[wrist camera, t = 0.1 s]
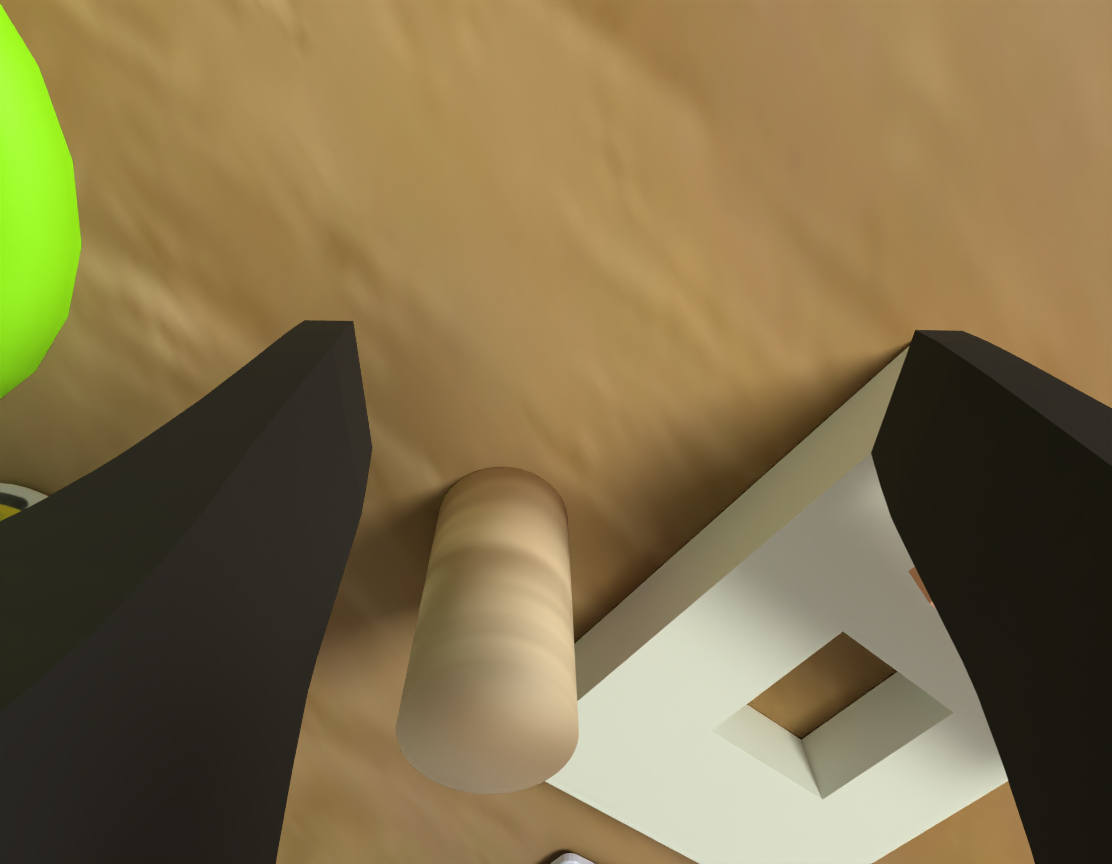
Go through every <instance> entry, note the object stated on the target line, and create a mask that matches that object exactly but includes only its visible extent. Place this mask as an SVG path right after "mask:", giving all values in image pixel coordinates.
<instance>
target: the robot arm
mask: <svg viewBox="0 0 1112 864" xmlns="http://www.w3.org/2000/svg"><path fill="white" fill-rule="evenodd" d="M371 452H372V443H371V436H370V430H369V423H368V417H367V410H366V403H365V397H364V390H363V383H362V377H361V370H360V363H359V357H358V350H357V343H356V337H355V330H354V324H353V321H310V320H305V321H303V322H302V323H300V324H298V325H297V326H295V327H294V328H293V329H291V330H290V331H289V332H287V333H286V334H285V335H283V336H282V337H281V338H279V339H278V340H277V341H276V342H274V343H273V344H272V345H270V346H269V347H268V348H267V349H265V350H264V351H263V352H262V353H260V354H259V355H258V356H257V357H255V358H254V359H253V360H251V361H250V362H249V363H248V364H246V365H245V366H244V367H242V368H241V369H240V370H239V371H237V372H236V373H235V374H233V375H232V376H231V377H229V378H228V379H227V380H226V381H224V382H223V383H222V384H220V385H219V386H218V387H216V388H215V389H214V390H213V391H211V392H210V393H209V394H207V395H206V396H205V397H203V398H202V399H201V400H199V401H198V402H197V403H195V404H194V405H192V406H191V407H189V408H188V409H186V410H185V411H184V412H182V413H181V414H179V415H178V416H176V417H175V418H173V419H172V420H171V421H169V422H168V423H166V424H165V425H163V426H162V427H160V428H159V429H158V430H156V431H155V432H153V433H152V434H150V435H149V436H147V437H146V438H145V439H143V440H142V441H140V442H139V443H137V444H136V445H134V446H133V447H131V448H130V449H128V450H127V451H125V452H123V453H122V454H120V455H119V456H117V457H116V458H114V459H112V460H111V461H109V462H107V463H106V464H104V465H102V466H101V467H99V468H98V469H96V470H94V471H93V472H91V473H89V474H87V475H86V476H84V477H82V478H80V479H79V480H77V481H75V482H73V483H71V484H70V485H68V486H66V487H64V488H63V489H61V490H59V491H57V492H56V493H54V494H52V495H50V496H49V497H47V498H45V499H43V500H41V501H39V502H37V503H35V504H34V505H32V506H30V507H28V508H26V509H24V510H22V511H20V512H18V513H16V514H14V515H12V516H10V517H8V518H5V519H3V520H1V521H0V864H276V858H277V852H278V846H279V841H280V835H281V830H282V824H283V819H284V813H285V808H286V802H287V796H288V791H289V785H290V780H291V774H292V769H293V764H294V759H295V753H296V748H297V743H298V738H299V733H300V728H301V723H302V718H303V713H304V708H305V703H306V698H307V693H308V689H309V685H310V682H311V678H312V674H313V670H314V666H315V663H316V659H317V656H318V652H319V649H320V646H321V643H322V640H323V636H324V633H325V630H326V627H327V624H328V620H329V617H330V614H331V611H332V608H333V604H334V601H335V598H336V595H337V592H338V588H339V585H340V582H341V579H342V576H343V573H344V569H345V566H346V563H347V560H348V556H349V553H350V550H351V547H352V543H353V540H354V537H355V533H356V530H357V527H358V523H359V520H360V517H361V513H362V508H363V502H364V496H365V491H366V485H367V479H368V472H369V466H370V459H371ZM871 455H872V459H873V462H874V466H875V469H876V472H877V476H878V479H879V483H880V486H881V489H882V492H883V495H884V498H885V501H886V504H887V507H888V510H889V513H890V516H891V518H892V521H893V523H894V525H895V527H896V529H897V531H898V533H899V535H900V537H901V540H902V542H903V544H904V546H905V548H906V550H907V552H908V554H909V556H910V558H911V560H912V562H913V564H914V566H915V568H916V570H917V572H918V574H919V576H920V578H921V580H922V582H923V584H924V586H925V588H926V590H927V592H928V594H929V596H930V598H931V600H932V602H933V604H934V606H935V608H936V610H937V612H938V614H939V616H940V618H941V620H942V622H943V624H944V626H945V628H946V630H947V632H948V634H949V636H950V638H951V640H952V642H953V644H954V646H955V648H956V650H957V652H958V654H959V656H960V658H961V660H962V662H963V664H964V666H965V669H966V671H967V673H968V675H969V678H970V680H971V682H972V684H973V687H974V689H975V691H976V693H977V696H978V699H979V701H980V704H981V707H982V709H983V712H984V715H985V718H986V720H987V723H988V726H989V728H990V731H991V734H992V737H993V739H994V742H995V745H996V747H997V750H998V753H999V756H1000V758H1001V761H1002V764H1003V766H1004V769H1005V772H1006V775H1007V778H1008V781H1009V784H1010V787H1011V790H1012V794H1013V797H1014V800H1015V803H1016V806H1017V809H1018V812H1019V815H1020V818H1021V821H1022V824H1023V827H1024V830H1025V833H1026V836H1027V839H1028V842H1029V845H1030V848H1031V851H1032V855H1033V858H1034V862H1035V864H1112V408H1110V407H1108V406H1106V405H1105V404H1103V403H1101V402H1099V401H1097V400H1095V399H1094V398H1092V397H1090V396H1088V395H1086V394H1084V393H1083V392H1081V391H1079V390H1077V389H1075V388H1074V387H1072V386H1070V385H1068V384H1066V383H1065V382H1063V381H1061V380H1059V379H1057V378H1055V377H1054V376H1052V375H1050V374H1048V373H1046V372H1045V371H1043V370H1041V369H1039V368H1037V367H1035V366H1034V365H1032V364H1030V363H1028V362H1026V361H1024V360H1023V359H1021V358H1019V357H1017V356H1015V355H1013V354H1011V353H1009V352H1007V351H1005V350H1003V349H1002V348H1000V347H998V346H995V345H993V344H991V343H989V342H987V341H985V340H983V339H981V338H978V337H976V336H974V335H971V334H969V333H966V332H964V331H938V330H915V332H914V335H913V338H912V341H911V343H910V346H909V349H908V352H907V355H906V357H905V360H904V363H903V366H902V368H901V371H900V374H899V377H898V379H897V382H896V385H895V388H894V390H893V393H892V396H891V399H890V402H889V404H888V407H887V410H886V413H885V415H884V418H883V421H882V424H881V426H880V429H879V432H878V435H877V438H876V440H875V443H874V446H873V449H872V451H871ZM551 864H595V863H593V862H591V861H589V860H587V859H585V858H583V857H581V856H579V855H577V854H574V853H566V854H563V855H561V856H560V857H559V858H557V859H556V860H555V861H553V862H552V863H551Z"/></svg>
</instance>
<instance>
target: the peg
mask: <svg viewBox="0 0 1112 864" xmlns="http://www.w3.org/2000/svg"><path fill="white" fill-rule="evenodd" d="M396 735H397V741H398V744H399V747H400V749H401V751H402V753H403V755H404V756H405V758H406V759H407V760H408V762H409V763H410V764H411V765H412V766H413V767H414V768H415V769H416V770H417V771H419V772H420V773H421V774H423V775H424V776H425V777H427V778H429V779H431V780H432V781H434V782H436V783H439V784H441V785H443V786H446V787H449V788H452V789H455V790H459V791H463V792H469V793H476V794H502V793H510V792H515V791H520V790H523V789H527V788H530V787H533V786H535V785H537V784H540V783H542V782H544V781H546V780H547V779H549V778H551V777H552V776H554V775H555V774H556V773H558V772H559V771H560V770H561V769H562V768H563V767H564V766H565V765H566V764H567V763H568V761H569V760H570V759H571V757H572V755H573V754H574V752H575V749H576V746H577V743H578V737H579V726H578V707H577V688H576V669H575V650H574V631H573V613H572V594H571V575H570V556H569V537H568V518H567V512H566V508H565V505H564V503H563V501H562V499H561V497H560V495H559V494H558V493H557V491H556V490H555V489H554V488H553V487H552V486H551V485H550V484H549V483H547V482H546V481H545V480H544V479H542V478H540V477H539V476H537V475H535V474H532V473H530V472H527V471H524V470H521V469H516V468H509V467H494V468H487V469H483V470H479V471H476V472H474V473H471V474H469V475H467V476H465V477H464V478H462V479H461V480H459V481H458V482H457V483H455V484H454V485H453V486H452V487H451V488H450V490H449V491H448V492H447V493H446V495H445V497H444V499H443V501H442V503H441V506H440V510H439V515H438V520H437V525H436V530H435V535H434V540H433V545H432V550H431V555H430V560H429V565H428V570H427V575H426V580H425V585H424V590H423V595H422V600H421V605H420V610H419V615H418V620H417V624H416V629H415V634H414V639H413V644H412V649H411V654H410V659H409V664H408V669H407V674H406V679H405V684H404V689H403V694H402V699H401V704H400V709H399V714H398V719H397V724H396Z"/></svg>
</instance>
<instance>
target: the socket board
mask: <svg viewBox="0 0 1112 864" xmlns="http://www.w3.org/2000/svg"><path fill="white" fill-rule="evenodd" d="M908 349H909V346H908V347H907V348H906V349H905V350H904V351H903V352H902V353H901V354H899V355H898V356H897V357H896V358H895V359H894V360H893V361H892V362H890V363H889V364H888V365H887V366H886V367H885V368H884V369H883V370H881V371H880V372H879V373H878V374H877V375H876V376H875V377H874V378H872V379H871V380H870V381H869V382H868V383H867V384H866V385H865V386H864V387H862V388H861V389H860V390H859V391H858V392H857V393H856V394H855V395H853V396H852V397H851V398H850V399H849V400H848V401H847V402H846V403H844V404H843V405H842V406H841V407H840V408H839V409H838V410H837V411H835V412H834V413H833V414H832V415H831V416H830V417H829V418H828V419H826V420H825V421H824V422H823V423H822V424H821V425H820V426H819V427H817V428H816V429H815V430H814V431H813V432H812V433H811V434H810V435H808V436H807V437H806V438H805V439H804V440H803V441H802V442H801V443H799V444H798V445H797V446H796V447H795V448H794V449H793V450H792V451H790V452H789V453H788V454H787V455H786V456H785V457H784V458H783V459H782V460H780V461H779V462H778V463H777V464H776V465H775V466H774V467H773V468H771V469H770V470H769V471H768V472H767V473H766V474H765V475H764V476H762V477H761V478H760V479H759V480H758V481H757V482H756V483H755V484H753V485H752V486H751V487H750V488H749V489H748V490H747V491H746V492H744V493H743V494H742V495H741V496H740V497H739V498H738V499H737V500H735V501H734V502H733V503H732V504H731V505H730V506H729V507H728V508H726V509H725V510H724V511H723V512H722V513H721V514H720V515H719V516H717V517H716V518H715V519H714V520H713V521H712V522H711V523H710V524H708V525H707V526H706V527H705V528H704V529H703V530H702V531H701V532H699V533H698V534H697V535H696V536H695V537H694V538H693V539H692V540H691V541H689V542H688V543H687V544H686V545H685V546H684V547H683V548H682V549H680V550H679V551H678V552H677V553H676V554H675V555H674V556H673V557H671V558H670V559H669V560H668V561H667V562H666V563H665V564H664V565H662V566H661V567H660V568H659V569H658V570H657V571H656V572H655V573H653V574H652V575H651V576H650V577H649V578H648V579H647V580H646V581H644V582H643V583H642V584H641V585H640V586H639V587H638V588H637V589H635V590H634V591H633V592H632V593H631V594H630V595H629V596H628V597H626V598H625V599H624V600H623V601H622V602H621V603H620V604H619V605H617V606H616V607H615V608H614V609H613V610H612V611H611V612H610V613H609V614H607V615H606V616H605V617H604V618H603V619H602V620H601V621H600V622H598V623H597V624H596V625H595V626H594V627H593V628H592V629H591V630H589V631H588V632H587V633H586V634H585V635H584V636H583V637H582V638H580V639H579V640H578V641H577V642H576V643H575V644H574V650H575V669H576V688H577V707H578V726H579V737H578V743H577V746H576V749H575V752H574V754H573V755H572V757H571V759H570V760H569V761H568V763H567V764H566V765H565V766H564V767H563V768H562V769H561V770H560V771H559V772H558V773H556V774H555V775H554V776H552V777H551V778H549V779H547V780H546V782H547V783H549V784H551V785H553V786H555V787H557V788H559V789H561V790H562V791H564V792H566V793H568V794H570V795H572V796H574V797H576V798H577V799H579V800H581V801H583V802H585V803H587V804H589V805H591V806H592V807H594V808H596V809H598V810H600V811H602V812H604V813H606V814H607V815H609V816H611V817H613V818H615V819H617V820H619V821H620V822H622V823H624V824H626V825H628V826H630V827H632V828H634V829H635V830H637V831H639V832H641V833H643V834H645V835H647V836H649V837H650V838H652V839H654V840H656V841H658V842H660V843H662V844H664V845H665V846H667V847H669V848H671V849H673V850H675V851H677V852H679V853H680V854H682V855H684V856H686V857H688V858H690V859H692V860H694V861H695V862H697V863H699V864H872V863H873V862H875V861H877V860H878V859H880V858H881V857H883V856H885V855H886V854H888V853H890V852H891V851H893V850H895V849H896V848H898V847H900V846H901V845H903V844H905V843H906V842H908V841H910V840H911V839H913V838H914V837H916V836H918V835H919V834H921V833H923V832H924V831H926V830H928V829H929V828H931V827H933V826H934V825H936V824H938V823H939V822H941V821H943V820H944V819H946V818H948V817H949V816H951V815H952V814H954V813H956V812H957V811H959V810H961V809H962V808H964V807H966V806H967V805H969V804H971V803H972V802H974V801H976V800H977V799H979V798H981V797H982V796H984V795H986V794H987V793H989V792H990V791H992V790H994V789H995V788H997V787H999V786H1000V785H1002V784H1004V783H1005V782H1007V781H1008V778H1007V775H1006V772H1005V769H1004V766H1003V764H1002V761H1001V758H1000V756H999V753H998V750H997V747H996V745H995V742H994V739H993V737H992V734H991V731H990V728H989V726H988V723H987V720H986V718H985V715H984V712H983V709H982V707H981V704H980V701H979V699H978V696H977V693H976V691H975V689H974V687H973V684H972V682H971V680H970V678H969V675H968V673H967V671H966V669H965V666H964V664H963V662H962V660H961V658H960V656H959V654H958V652H957V650H956V648H955V646H954V644H953V642H952V640H951V638H950V636H949V634H948V632H947V630H946V628H945V626H944V624H943V622H942V620H941V618H940V616H939V614H938V612H937V610H936V608H934V607H933V606H932V605H931V604H929V602H928V601H927V599H926V598H925V596H924V594H923V593H922V591H921V590H920V588H919V587H918V585H917V584H916V582H915V581H914V579H913V578H912V576H911V575H910V573H909V570H911V569H912V568H913V567H915V566H914V564H913V562H912V560H911V558H910V556H909V554H908V552H907V550H906V548H905V546H904V544H903V542H902V540H901V537H900V535H899V533H898V531H897V529H896V527H895V525H894V523H893V521H892V518H891V516H890V513H889V510H888V507H887V504H886V501H885V498H884V495H883V492H882V489H881V486H880V483H879V479H878V476H877V472H876V469H875V466H874V462H873V459H872V455H871V451H872V449H873V446H874V443H875V440H876V438H877V435H878V432H879V429H880V426H881V424H882V421H883V418H884V415H885V413H886V410H887V407H888V404H889V402H890V399H891V396H892V393H893V390H894V388H895V385H896V382H897V379H898V377H899V374H900V371H901V368H902V366H903V363H904V360H905V357H906V355H907V352H908ZM841 632H844V633H846V634H847V635H848V636H850V637H851V638H853V639H854V640H855V641H857V642H858V643H859V644H861V645H862V646H863V647H865V648H866V649H868V650H869V651H870V652H872V653H873V654H874V655H876V656H877V657H878V658H880V659H881V660H883V661H884V662H885V663H887V664H888V665H889V666H891V667H892V668H894V669H895V670H896V671H898V672H896V673H895V674H893V675H892V676H891V677H889V678H888V679H886V680H885V681H883V682H882V683H881V684H879V685H878V686H876V687H875V688H874V689H872V690H871V691H869V692H868V693H867V694H865V695H864V696H862V697H861V698H859V699H858V700H857V701H855V702H854V703H852V704H851V705H850V706H848V707H847V708H845V709H844V710H843V711H841V712H840V713H838V714H837V715H835V716H834V717H833V718H831V719H830V720H828V721H827V722H826V723H824V724H823V725H821V726H820V727H818V728H817V729H816V730H814V731H813V732H811V733H810V734H809V735H807V736H806V737H804V738H803V739H802V740H801V739H799V738H798V737H796V736H795V735H793V734H792V733H790V732H788V731H787V730H785V729H784V728H782V727H781V726H779V725H778V724H776V723H775V722H773V721H771V720H770V719H768V718H767V717H765V716H764V715H762V714H761V713H759V712H757V711H756V710H754V709H753V708H751V707H750V706H748V705H747V703H749V702H750V701H751V700H753V699H754V698H755V697H757V696H758V695H759V694H761V693H762V692H763V691H765V690H766V689H767V688H769V687H770V686H771V685H773V684H774V683H775V682H777V681H778V680H779V679H781V678H782V677H783V676H785V675H786V674H787V673H788V672H790V671H791V670H792V669H794V668H795V667H796V666H798V665H799V664H800V663H802V662H803V661H804V660H806V659H807V658H808V657H810V656H811V655H812V654H814V653H815V652H816V651H818V650H819V649H820V648H822V647H823V646H824V645H826V644H827V643H828V642H830V641H831V640H832V639H834V638H835V637H836V636H838V635H839V634H840V633H841Z"/></svg>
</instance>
